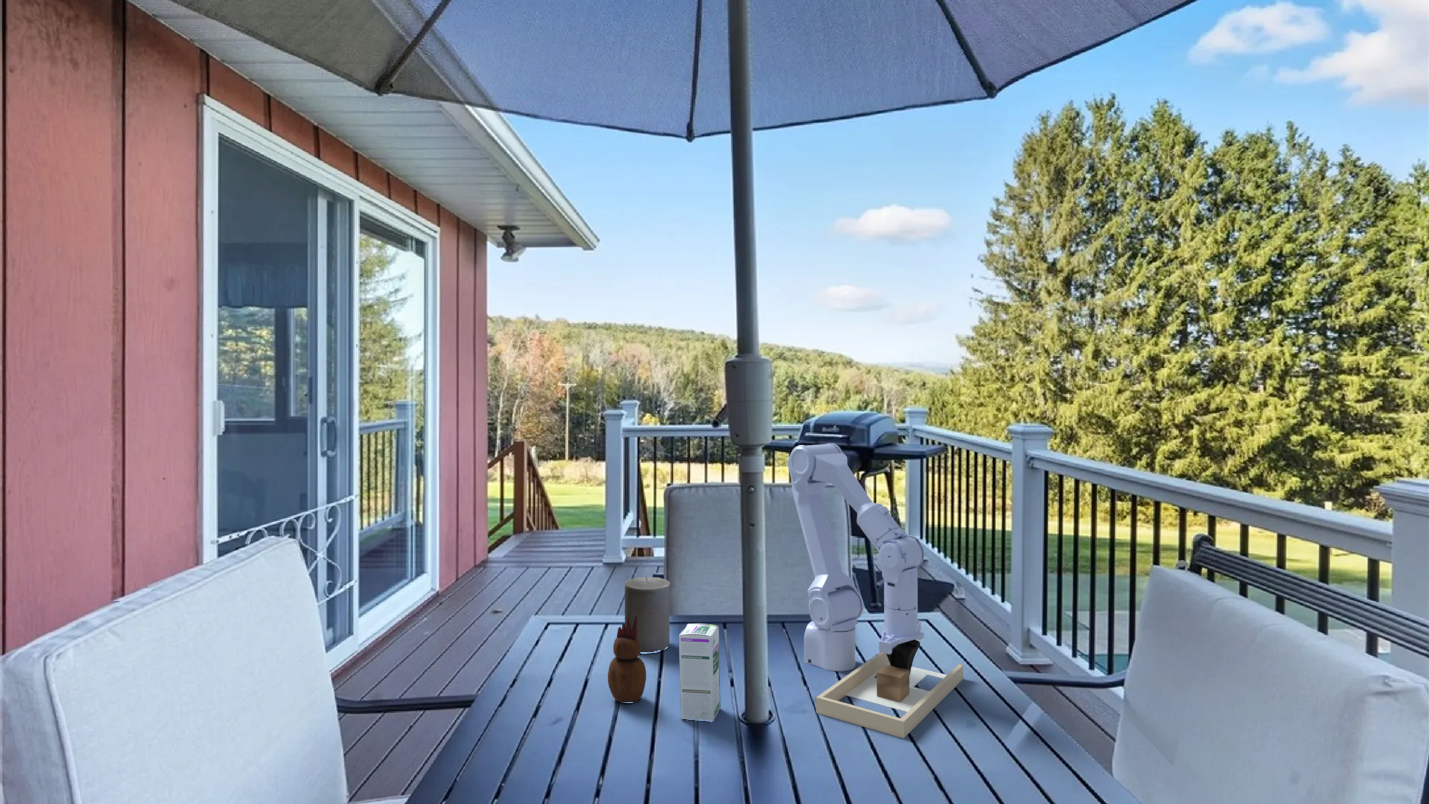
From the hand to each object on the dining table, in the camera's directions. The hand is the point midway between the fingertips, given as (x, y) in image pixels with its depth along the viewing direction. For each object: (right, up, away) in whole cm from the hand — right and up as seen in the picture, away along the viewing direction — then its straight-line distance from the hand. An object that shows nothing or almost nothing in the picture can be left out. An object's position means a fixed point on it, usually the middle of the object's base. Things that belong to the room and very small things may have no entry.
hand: (901, 682), depth 128 cm
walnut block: (-2, -1, -3) cm, 4 cm away
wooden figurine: (-48, -3, 0) cm, 49 cm away
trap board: (-2, -3, -3) cm, 4 cm away
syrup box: (-35, -3, -6) cm, 36 cm away
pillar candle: (-47, -3, +26) cm, 54 cm away
